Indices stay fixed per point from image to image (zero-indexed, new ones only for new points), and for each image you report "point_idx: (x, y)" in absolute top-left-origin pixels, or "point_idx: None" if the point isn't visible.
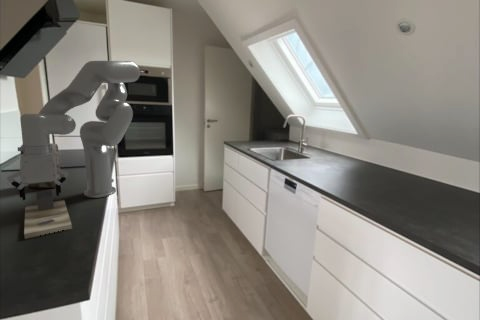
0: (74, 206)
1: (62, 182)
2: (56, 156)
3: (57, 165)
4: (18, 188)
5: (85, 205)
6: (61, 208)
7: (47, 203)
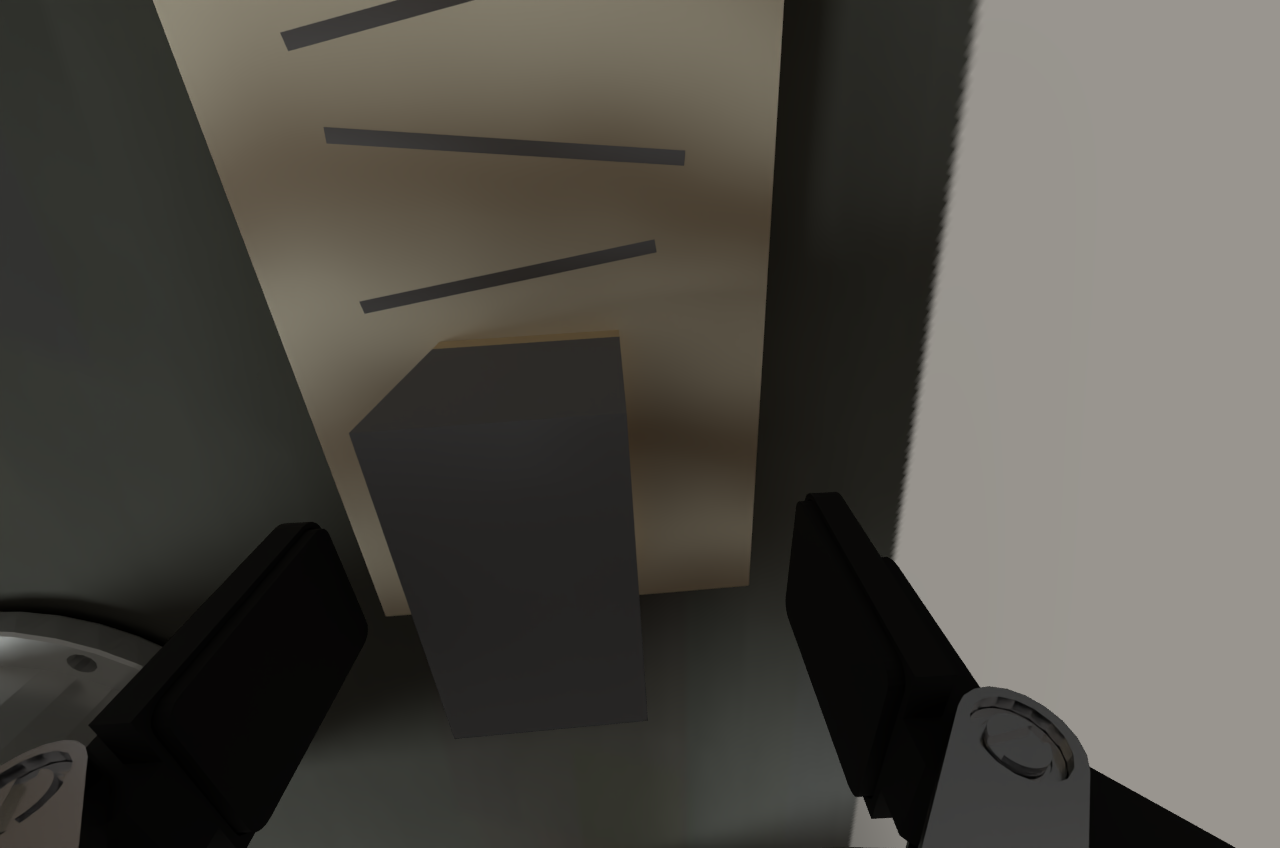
0: (274, 474)
1: None
2: None
3: None
4: (1036, 725)
5: (139, 454)
6: (355, 365)
7: (480, 379)
